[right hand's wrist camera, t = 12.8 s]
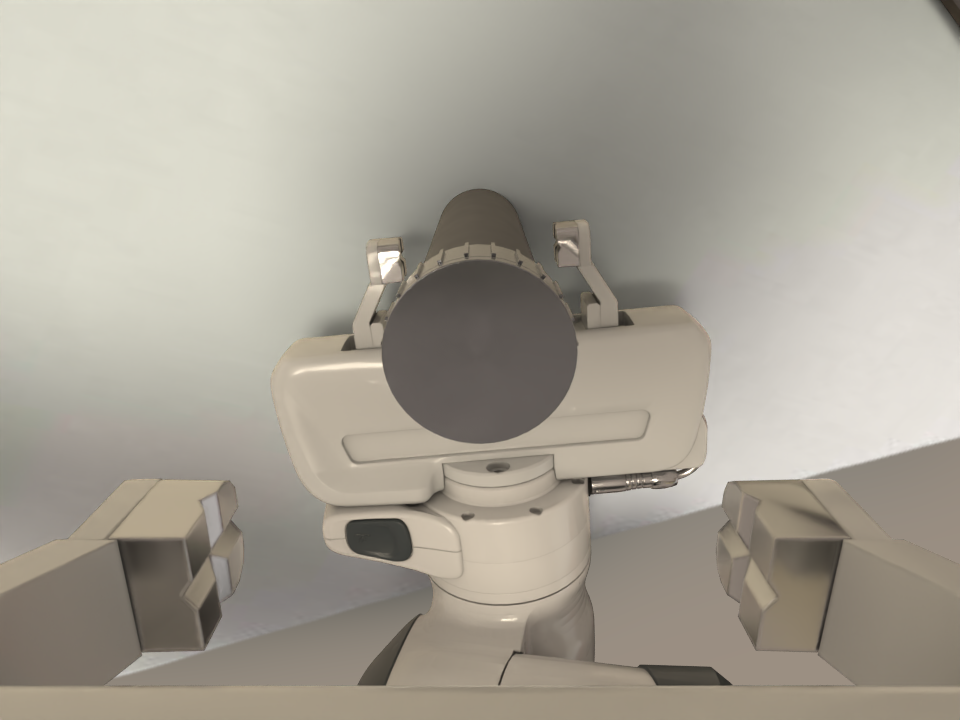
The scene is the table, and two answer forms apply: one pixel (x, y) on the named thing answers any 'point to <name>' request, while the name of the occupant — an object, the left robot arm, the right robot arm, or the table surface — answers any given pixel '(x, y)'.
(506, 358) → the lid
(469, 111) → the table surface
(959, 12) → the toy
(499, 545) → the left robot arm
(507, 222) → the dark capped cylinder
